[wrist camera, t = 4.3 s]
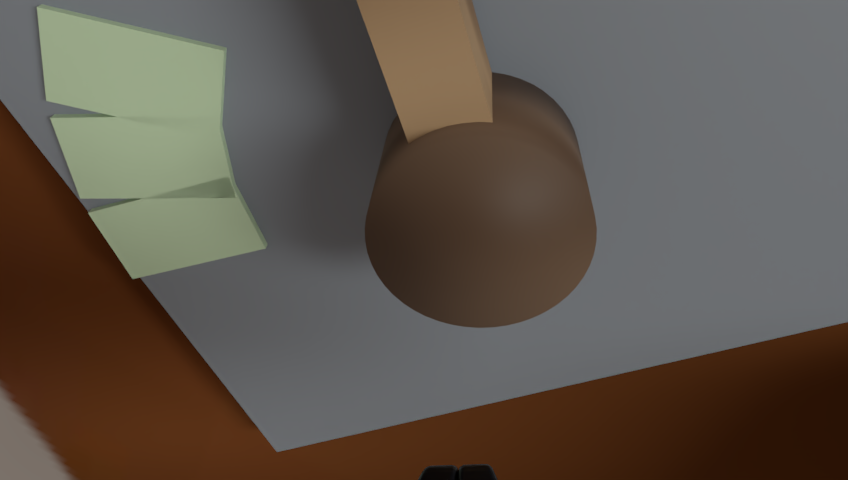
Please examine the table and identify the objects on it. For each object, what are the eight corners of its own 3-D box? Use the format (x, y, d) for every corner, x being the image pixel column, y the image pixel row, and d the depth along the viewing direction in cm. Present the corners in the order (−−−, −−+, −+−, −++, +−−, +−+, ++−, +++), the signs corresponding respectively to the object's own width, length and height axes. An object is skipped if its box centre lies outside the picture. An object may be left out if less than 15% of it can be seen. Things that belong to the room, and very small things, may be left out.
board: (941, 265, 19) (971, 300, 18) (284, 423, 24) (274, 457, 23) (918, -733, 10) (976, -797, 9) (-125, -119, 15) (-174, -108, 14)
